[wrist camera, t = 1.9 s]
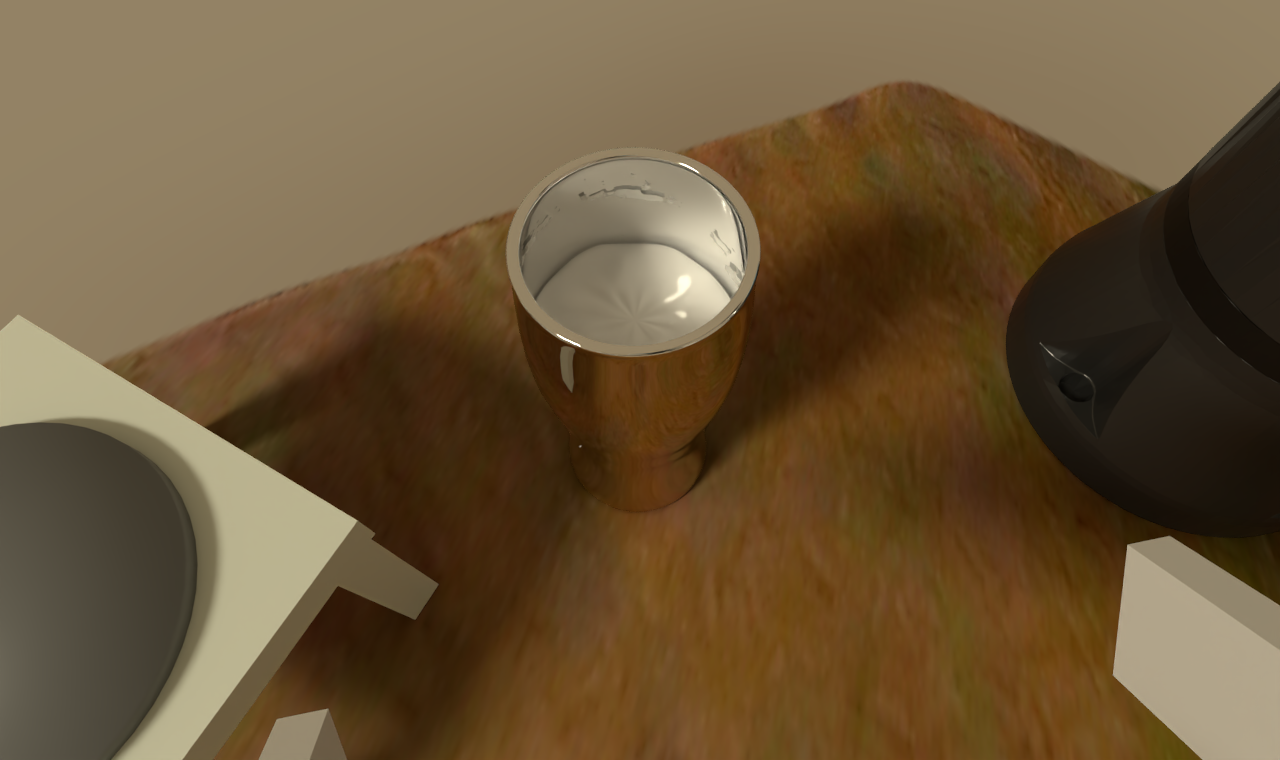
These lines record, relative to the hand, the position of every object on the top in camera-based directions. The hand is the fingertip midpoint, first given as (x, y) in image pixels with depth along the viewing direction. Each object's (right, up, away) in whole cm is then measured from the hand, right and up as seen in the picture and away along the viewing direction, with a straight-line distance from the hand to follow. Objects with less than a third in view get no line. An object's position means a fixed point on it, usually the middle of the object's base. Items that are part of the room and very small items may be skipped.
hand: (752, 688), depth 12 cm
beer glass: (-2, +2, +20) cm, 21 cm away
